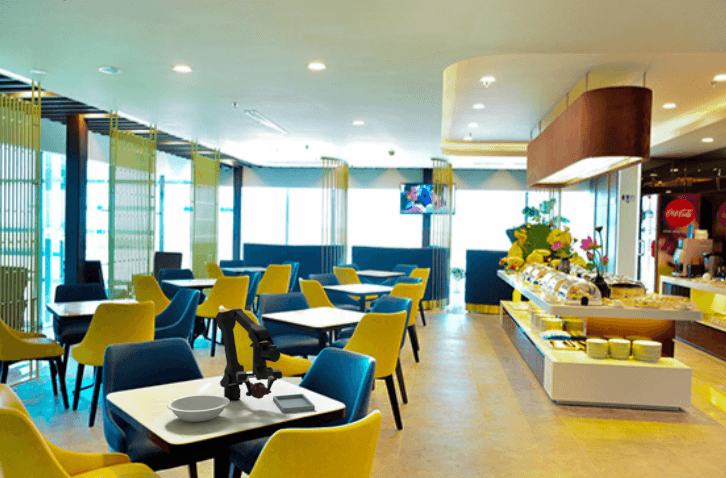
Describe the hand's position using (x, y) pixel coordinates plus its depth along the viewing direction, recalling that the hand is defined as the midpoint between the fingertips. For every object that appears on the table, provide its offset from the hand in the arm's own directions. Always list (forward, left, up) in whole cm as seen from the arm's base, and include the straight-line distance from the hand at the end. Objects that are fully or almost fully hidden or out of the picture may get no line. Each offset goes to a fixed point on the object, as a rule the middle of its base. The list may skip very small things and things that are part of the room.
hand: (258, 395), depth 241 cm
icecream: (0, 0, -1) cm, 1 cm away
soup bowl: (-25, -7, -6) cm, 27 cm away
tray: (+15, 0, -6) cm, 16 cm away
